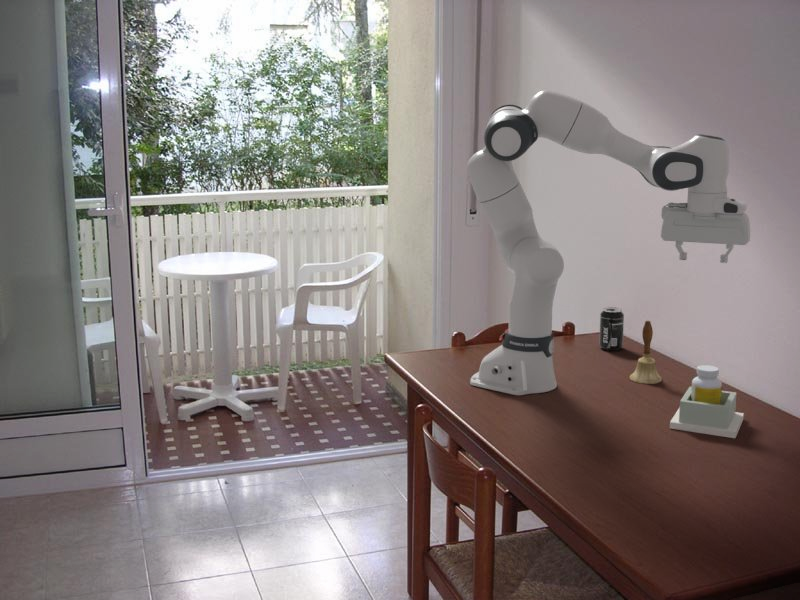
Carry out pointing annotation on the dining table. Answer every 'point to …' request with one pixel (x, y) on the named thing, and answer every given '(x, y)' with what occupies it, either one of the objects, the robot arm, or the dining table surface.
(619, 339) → the beverage can
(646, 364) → the hand bell
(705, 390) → the pill bottle
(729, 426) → the well block
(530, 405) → the dining table surface
